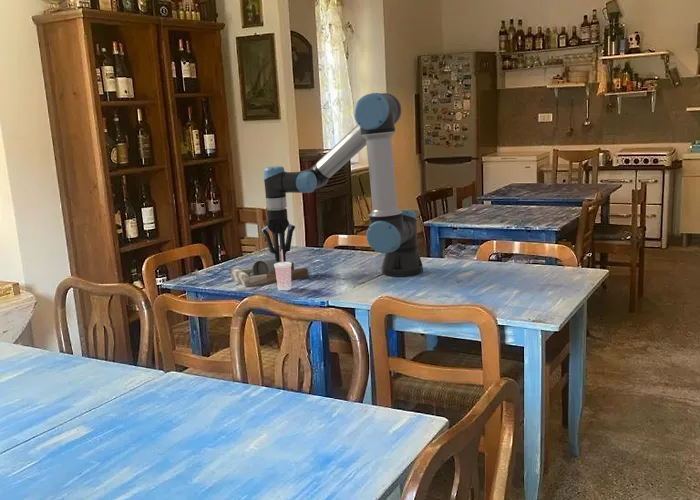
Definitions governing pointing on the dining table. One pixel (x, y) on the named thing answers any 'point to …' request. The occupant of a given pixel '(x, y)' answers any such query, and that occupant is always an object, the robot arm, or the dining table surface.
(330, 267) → the dining table surface
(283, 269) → the beverage cup
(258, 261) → the ceramic mug
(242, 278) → the guide channel
